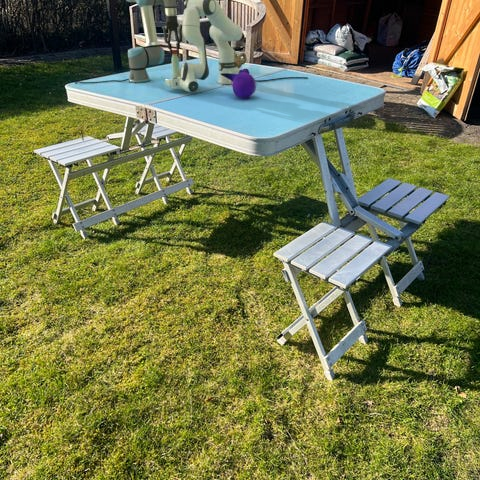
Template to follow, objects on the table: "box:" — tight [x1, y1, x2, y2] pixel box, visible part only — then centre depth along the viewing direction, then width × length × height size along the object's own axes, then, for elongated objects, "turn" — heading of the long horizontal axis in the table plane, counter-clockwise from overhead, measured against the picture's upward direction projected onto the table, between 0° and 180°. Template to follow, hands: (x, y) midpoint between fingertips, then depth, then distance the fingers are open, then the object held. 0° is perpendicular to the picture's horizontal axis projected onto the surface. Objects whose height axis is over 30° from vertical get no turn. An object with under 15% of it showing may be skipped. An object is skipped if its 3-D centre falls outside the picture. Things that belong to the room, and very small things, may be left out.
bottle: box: [171, 54, 181, 78], centre depth 308 cm, size 5×5×24 cm
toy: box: [221, 68, 257, 99], centre depth 286 cm, size 16×18×27 cm
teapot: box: [234, 50, 247, 69], centre depth 367 cm, size 21×12×15 cm, turn 120°
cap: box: [172, 49, 179, 55], centre depth 302 cm, size 4×4×2 cm
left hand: (174, 53), depth 302 cm, fingers closed on cap, 4 cm apart
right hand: (176, 79), depth 311 cm, fingers closed on bottle, 5 cm apart
